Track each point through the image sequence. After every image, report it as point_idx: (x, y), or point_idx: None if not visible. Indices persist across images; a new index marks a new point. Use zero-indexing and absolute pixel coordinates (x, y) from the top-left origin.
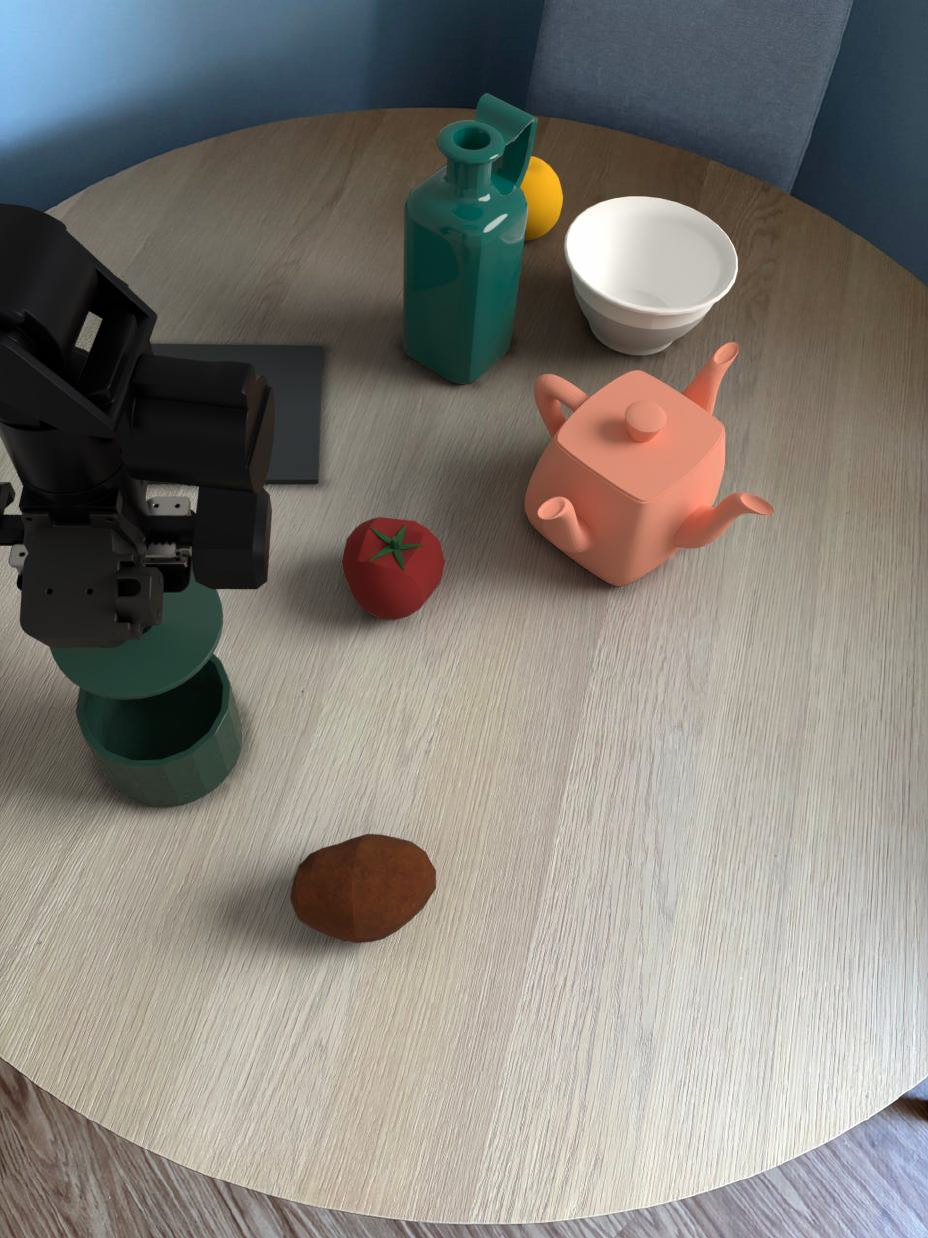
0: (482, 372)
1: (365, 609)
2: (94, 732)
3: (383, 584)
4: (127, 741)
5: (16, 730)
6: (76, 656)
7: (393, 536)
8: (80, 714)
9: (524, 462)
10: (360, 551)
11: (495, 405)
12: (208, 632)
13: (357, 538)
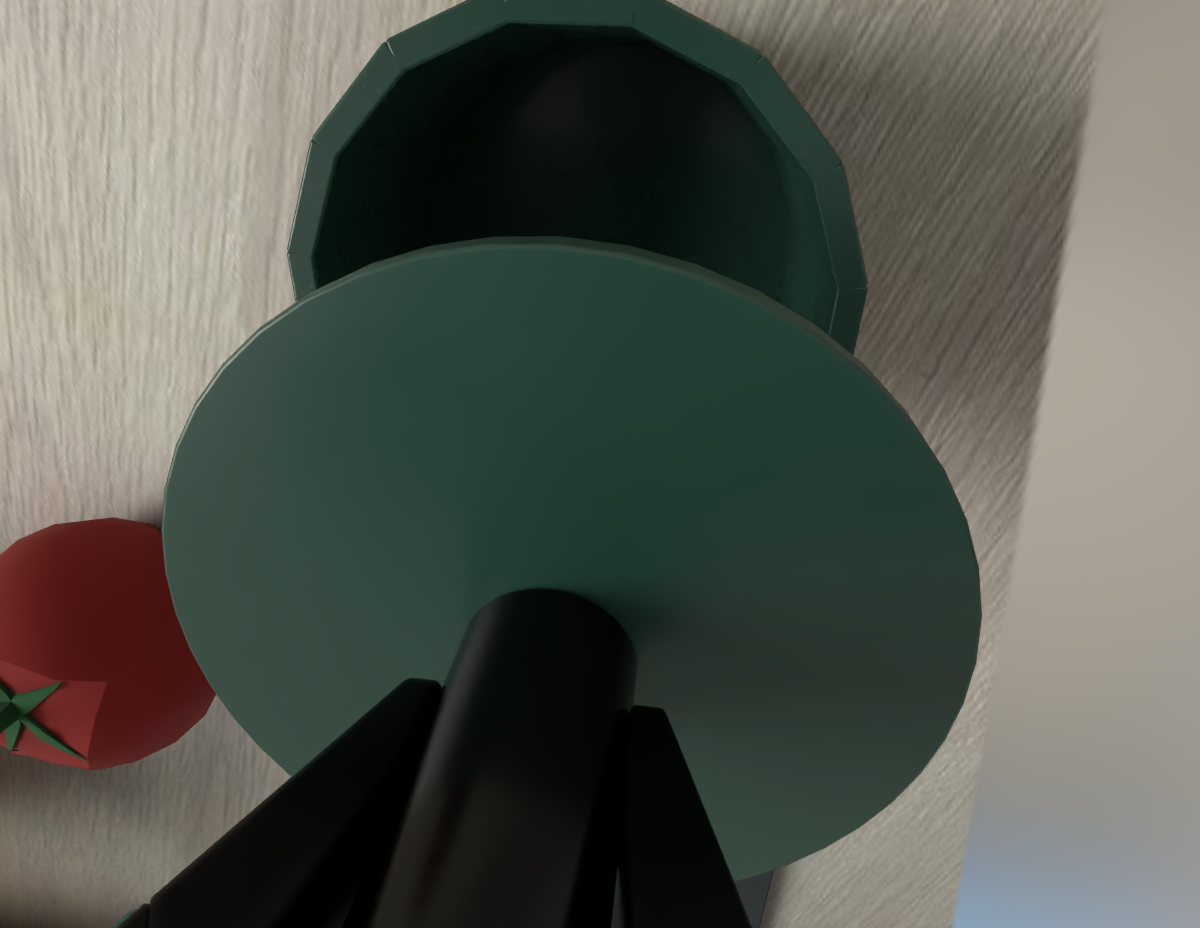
0: (117, 924)
1: (149, 550)
2: (808, 244)
3: (21, 618)
4: (725, 251)
5: (1036, 317)
6: (839, 518)
7: (27, 730)
8: (848, 277)
9: (4, 779)
10: (99, 705)
11: (90, 869)
12: (211, 567)
13: (119, 734)
